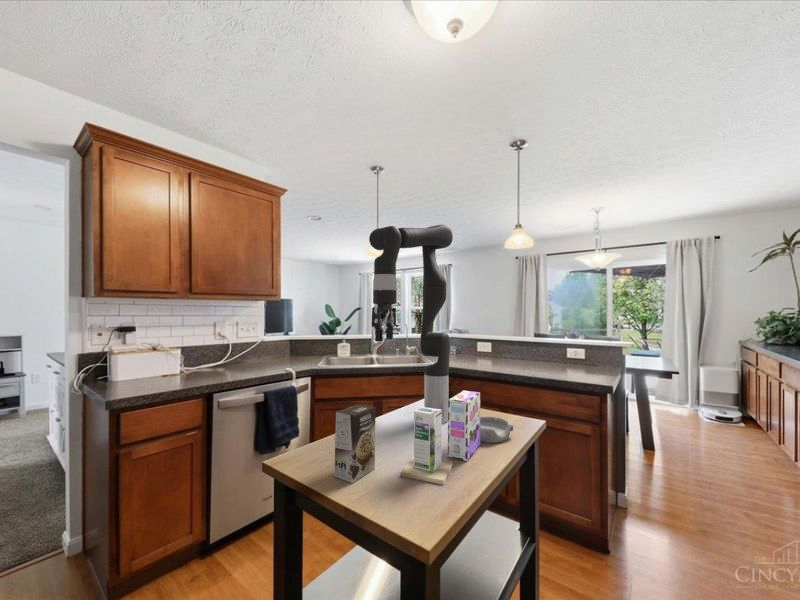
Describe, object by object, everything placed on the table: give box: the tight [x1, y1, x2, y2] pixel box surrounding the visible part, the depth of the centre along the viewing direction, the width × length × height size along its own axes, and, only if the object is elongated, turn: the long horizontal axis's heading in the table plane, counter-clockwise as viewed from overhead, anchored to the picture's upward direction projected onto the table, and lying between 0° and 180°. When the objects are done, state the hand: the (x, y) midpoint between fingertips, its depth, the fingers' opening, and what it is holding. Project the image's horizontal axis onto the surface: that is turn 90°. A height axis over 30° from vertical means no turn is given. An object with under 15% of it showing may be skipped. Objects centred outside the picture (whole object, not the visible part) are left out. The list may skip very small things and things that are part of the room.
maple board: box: [400, 455, 454, 486], centre depth 86 cm, size 11×11×1 cm
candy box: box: [447, 390, 481, 462], centre depth 99 cm, size 14×6×16 cm, turn 151°
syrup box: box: [413, 406, 443, 473], centre depth 87 cm, size 6×6×14 cm
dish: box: [480, 416, 514, 444], centre depth 111 cm, size 14×14×5 cm
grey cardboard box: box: [333, 404, 377, 484], centre depth 85 cm, size 9×6×16 cm
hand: (384, 340), depth 106 cm, fingers open, 8 cm apart
